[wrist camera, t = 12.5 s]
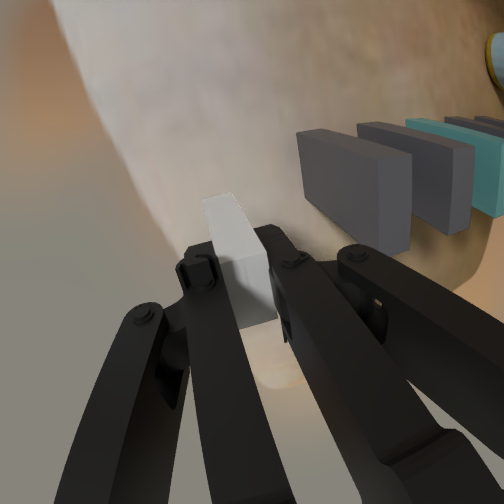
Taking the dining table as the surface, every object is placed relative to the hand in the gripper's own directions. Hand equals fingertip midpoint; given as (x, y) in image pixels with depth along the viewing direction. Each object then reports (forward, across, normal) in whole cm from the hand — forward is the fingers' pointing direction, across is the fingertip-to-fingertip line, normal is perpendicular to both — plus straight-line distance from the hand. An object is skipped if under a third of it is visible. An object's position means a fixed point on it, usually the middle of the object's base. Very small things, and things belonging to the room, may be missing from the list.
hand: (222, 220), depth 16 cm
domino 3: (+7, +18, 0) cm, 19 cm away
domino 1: (+6, +8, 0) cm, 10 cm away
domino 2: (+6, +13, 0) cm, 14 cm away
